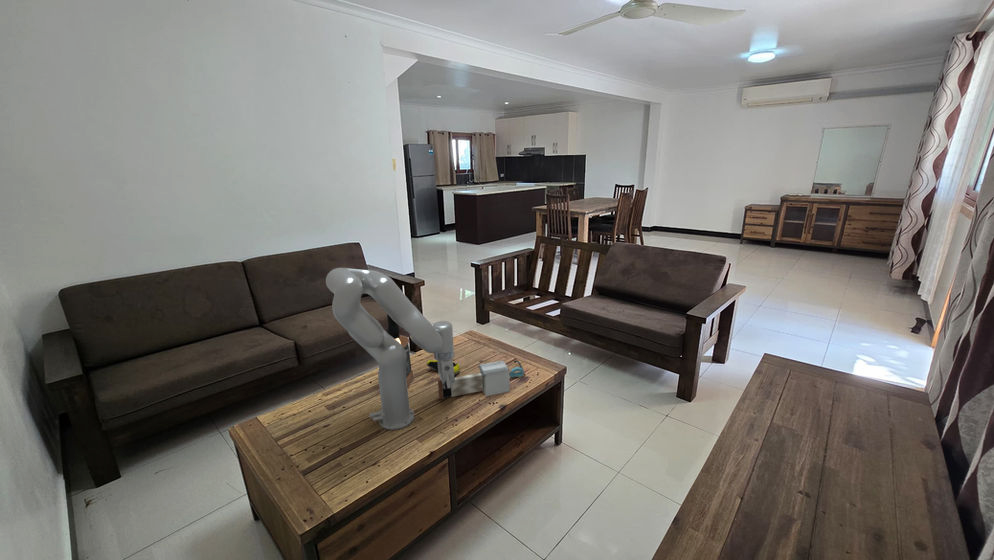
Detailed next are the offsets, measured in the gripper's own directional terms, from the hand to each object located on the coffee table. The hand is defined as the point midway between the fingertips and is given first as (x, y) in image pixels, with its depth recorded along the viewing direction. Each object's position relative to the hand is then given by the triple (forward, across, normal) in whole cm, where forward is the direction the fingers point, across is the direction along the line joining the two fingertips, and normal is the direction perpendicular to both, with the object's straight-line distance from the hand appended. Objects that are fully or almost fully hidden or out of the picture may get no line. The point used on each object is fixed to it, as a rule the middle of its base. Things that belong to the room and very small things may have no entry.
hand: (446, 394), depth 158 cm
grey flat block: (+1, 0, -6) cm, 6 cm away
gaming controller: (+2, +21, -3) cm, 21 cm away
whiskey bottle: (+2, +18, +17) cm, 25 cm away
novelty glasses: (+2, +12, -29) cm, 32 cm away
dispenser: (+2, 0, -20) cm, 20 cm away
